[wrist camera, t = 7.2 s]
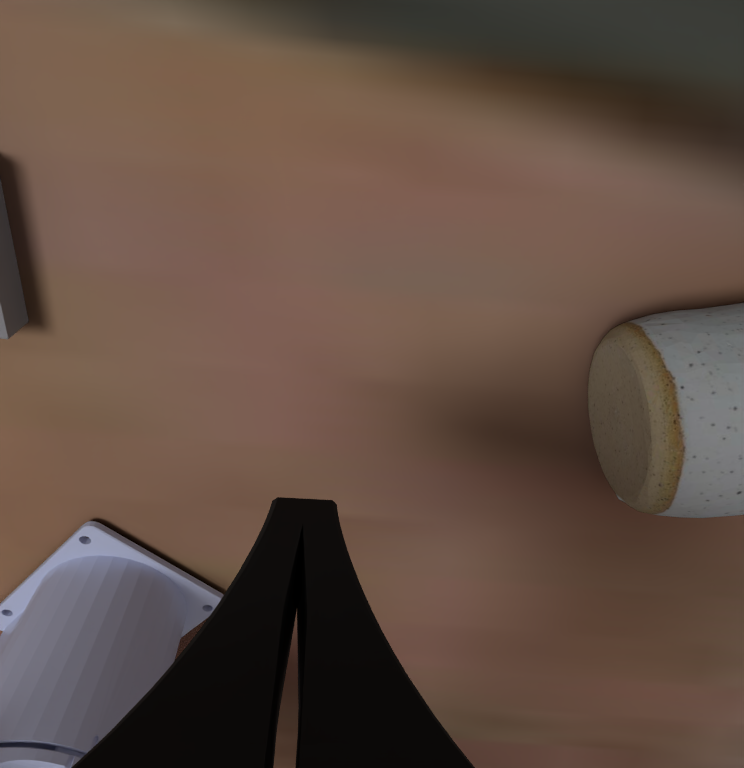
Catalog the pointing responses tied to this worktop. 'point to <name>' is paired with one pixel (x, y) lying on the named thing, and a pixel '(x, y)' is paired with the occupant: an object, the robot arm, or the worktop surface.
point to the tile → (9, 280)
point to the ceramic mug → (672, 411)
